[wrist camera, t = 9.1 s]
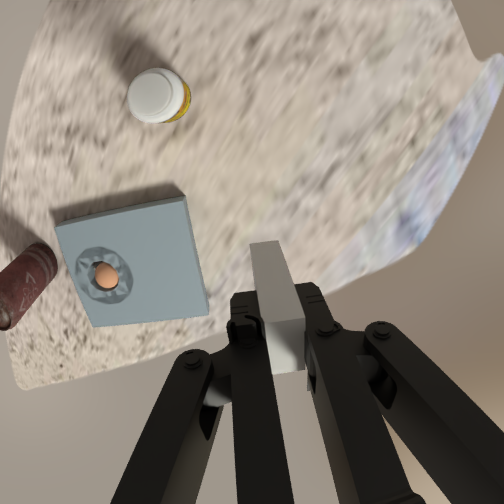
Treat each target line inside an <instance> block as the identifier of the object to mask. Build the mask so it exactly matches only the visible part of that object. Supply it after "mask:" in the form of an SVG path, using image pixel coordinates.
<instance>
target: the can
mask: <svg viewBox="0 0 504 504" xmlns="http://www.w3.org/2000/svg"><path fill="white" fill-rule="evenodd" d="M57 269H58V266H57V259H56V257H55V255H54V253H53V252H52V250H51V249H49V248H48V247H47V246H45V245H43V244H37V243H36V244H32V245H31V246H30V247H28V248H27V249H26V250H25V251H24V252H22V253H21V254H20V255H19V256H18V257H17V258H16V259H14V260H13V261H12V262H11V263H10V264H9V265H8V266H7V267H6V268H4V269H3V270H2V271H1V272H0V330H2V331H7V330H8V329H12V328H13V327H15V325H16V324H17V323H18V321H19V320H20V319H21V318H22V316H23V315H24V314H25V312H26V311H27V310H28V309H29V307H30V306H31V305H32V304H33V302H34V301H35V300H36V299H37V297H38V296H39V295H40V294H41V293H42V291H43V290H44V289H45V288H46V287H47V285H48V284H49V283H50V282H51V281H52V280H53V278H54V277H55V275H56V274H57Z"/></svg>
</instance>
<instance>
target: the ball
mask: <svg viewBox="0 0 504 504" xmlns="http://www.w3.org/2000/svg"><path fill="white" fill-rule="evenodd" d="M95 279H96V281H97V283H98V284H99V285H100V286H102V287H104V288H111V287H114V286H115V285H116V284H117V283H118V282H119V277H118V274H117V271H116V270H115V269H114V268H113V267H112V266H111V265H110V264H109V263H106V262H102V263H100V264H99V265H98V266H97V268H96V270H95Z"/></svg>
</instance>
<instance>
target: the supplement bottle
mask: <svg viewBox="0 0 504 504" xmlns="http://www.w3.org/2000/svg"><path fill="white" fill-rule="evenodd" d="M190 103H191V92H190V89H189V87H188V86H187V84H186V83H185V82H184V81H183V80H181V79H180V78H179V77H178V76H177V75H176V74H175V73H173V72H172V71H170V70H167V69H164V68H151V69H148V70H145V71H143V72H142V73H140V74H139V75H138V76H136V77H135V78H134V80H133V81H132V82H131V84H130V86H129V88H128V92H127V104H128V108H129V110H130V112H131V113H132V114H133V115H134V117H136V118H137V119H138V120H140V121H142V122H145V123H151V124H156V123H166V122H172V121H175V120H177V119H179V118H181V117H182V116H183V115H184V114H185V113H186V112H187V110H188V108H189V106H190Z"/></svg>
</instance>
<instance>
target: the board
mask: <svg viewBox="0 0 504 504" xmlns="http://www.w3.org/2000/svg"><path fill="white" fill-rule="evenodd" d="M54 229H55V232H56V235H57V238H58V241H59V244H60V247H61V250H62V253H63V256H64V258H65V261H66V264H67V267H68V269H69V272H70V275H71V277H72V280H73V282H74V285H75V287H76V290H77V292H78V295H79V297H80V299H81V302H82V304H83V307H84V309H85V311H86V313H87V316H88V318H89V320H90V322H91V324H92V327H105V326H116V325H127V324H137V323H147V322H156V321H165V320H174V319H183V318H191V317H199V316H206V315H209V302H208V298H207V293H206V289H205V285H204V281H203V276H202V272H201V267H200V263H199V258H198V254H197V249H196V245H195V240H194V235H193V231H192V226H191V221H190V216H189V211H188V206H187V201H186V196H180V197H174V198H169V199H163V200H158V201H153V202H148V203H143V204H138V205H133V206H128V207H123V208H118V209H114V210H109V211H104V212H100V213H95V214H91V215H87V216H82V217H78V218H74V219H70V220H66V221H62V222H61V223H60V224H58V225H57V226H56V227H54ZM97 261H103V262H106V263H109V264H110V265H111V266H112V267H113V268H114V269H115V270H116V271H117V274H118V277H119V282H118V283H117V284H116V285H115V286H114V287H111V288H104V287H102V286H100V285H99V284H98V283H97V281H96V279H95V270H94V267H93V266H94V262H97Z"/></svg>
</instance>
